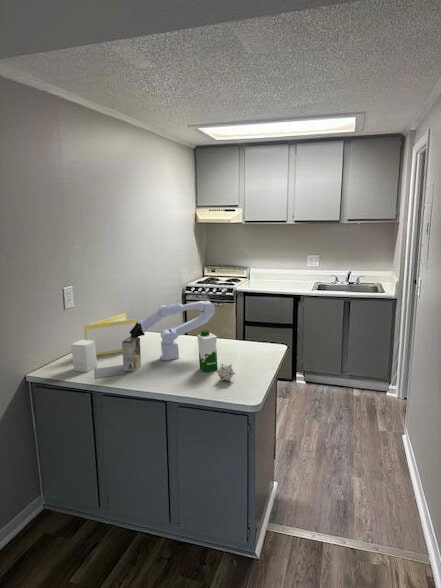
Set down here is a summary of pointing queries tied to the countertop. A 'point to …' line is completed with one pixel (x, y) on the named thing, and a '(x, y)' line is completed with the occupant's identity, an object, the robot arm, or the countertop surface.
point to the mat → (109, 371)
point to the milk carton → (207, 351)
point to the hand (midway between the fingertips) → (130, 335)
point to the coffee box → (131, 354)
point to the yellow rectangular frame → (109, 333)
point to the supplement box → (84, 355)
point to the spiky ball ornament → (225, 372)
